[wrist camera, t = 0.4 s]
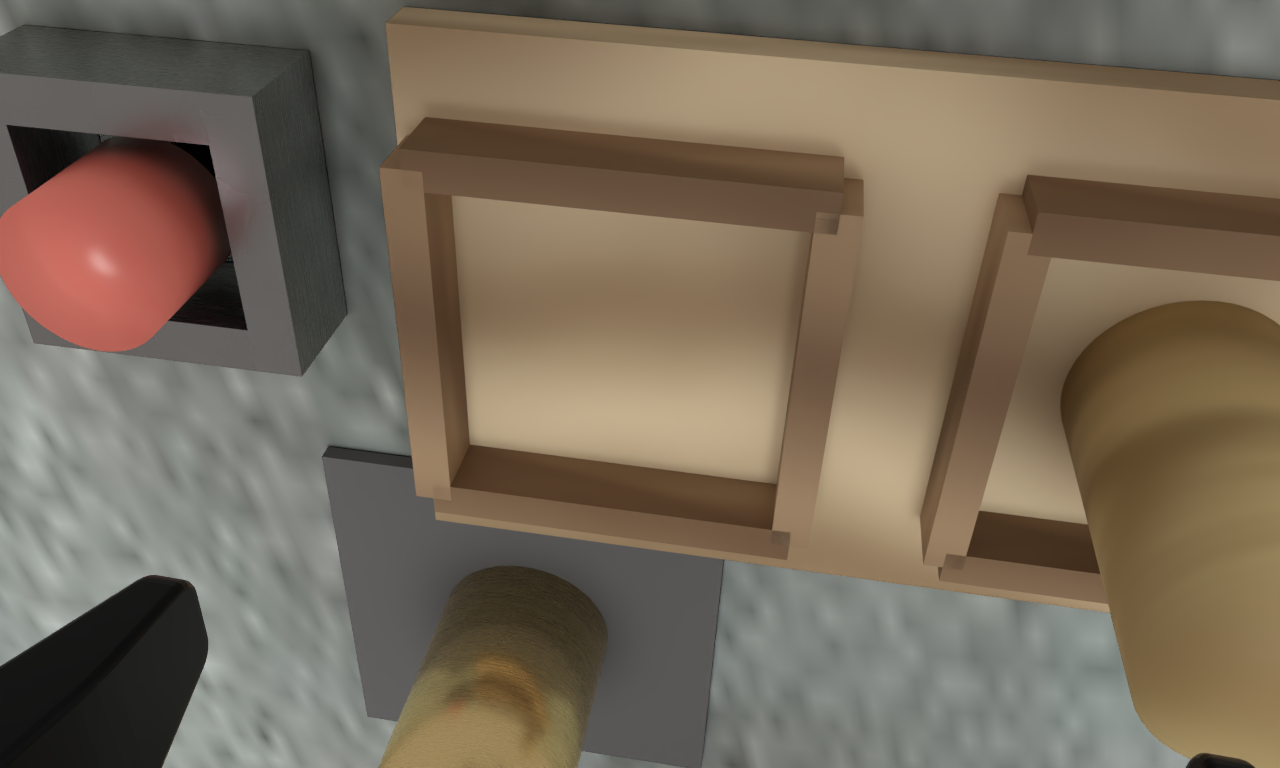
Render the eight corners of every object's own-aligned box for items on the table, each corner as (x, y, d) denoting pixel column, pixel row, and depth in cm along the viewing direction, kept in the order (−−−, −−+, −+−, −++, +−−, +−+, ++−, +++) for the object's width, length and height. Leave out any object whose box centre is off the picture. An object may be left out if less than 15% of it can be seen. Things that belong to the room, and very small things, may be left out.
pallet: (1289, 606, 25) (1439, 949, 19) (448, 492, 27) (322, 764, 21) (1563, 104, 18) (1950, 376, 12) (403, 6, 20) (194, 190, 14)
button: (247, 286, 23) (180, 361, 21) (104, 270, 23) (23, 341, 21) (218, 142, 21) (140, 206, 19) (63, 126, 21) (-31, 187, 19)
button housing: (347, 313, 25) (302, 376, 23) (99, 285, 25) (34, 342, 23) (309, 50, 21) (251, 97, 19) (23, 25, 22) (-62, 67, 20)
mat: (702, 758, 32) (700, 769, 32) (372, 705, 33) (367, 716, 33) (730, 499, 26) (728, 510, 26) (328, 446, 27) (321, 456, 27)
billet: (606, 691, 30) (549, 940, 25) (452, 668, 31) (361, 906, 25) (609, 578, 28) (545, 826, 22) (440, 554, 28) (336, 791, 23)
